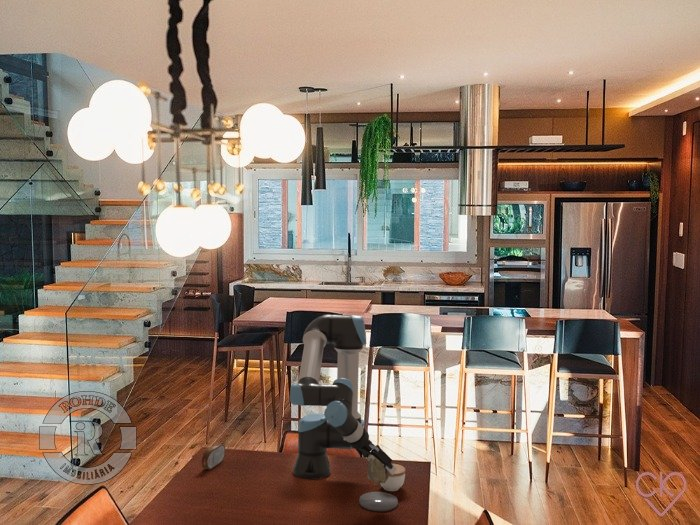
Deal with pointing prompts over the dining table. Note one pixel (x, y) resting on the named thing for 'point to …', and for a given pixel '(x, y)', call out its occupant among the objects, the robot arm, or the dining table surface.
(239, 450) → the dining table surface
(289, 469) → the dining table surface
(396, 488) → the lidded jar
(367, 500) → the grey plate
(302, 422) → the robot arm
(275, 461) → the dining table surface
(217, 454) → the tin
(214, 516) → the dining table surface
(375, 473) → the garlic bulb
